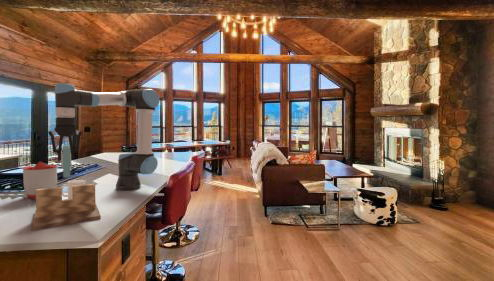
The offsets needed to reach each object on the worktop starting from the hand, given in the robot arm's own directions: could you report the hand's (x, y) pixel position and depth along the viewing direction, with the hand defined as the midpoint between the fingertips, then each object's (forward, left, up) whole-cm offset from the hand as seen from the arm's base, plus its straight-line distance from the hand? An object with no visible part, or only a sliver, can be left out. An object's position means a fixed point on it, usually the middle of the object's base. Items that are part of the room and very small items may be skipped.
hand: (66, 166), depth 123 cm
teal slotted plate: (0, +7, -2) cm, 7 cm away
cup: (-3, -23, -22) cm, 32 cm away
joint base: (0, +6, -22) cm, 23 cm away
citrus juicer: (+12, -40, -22) cm, 47 cm away
